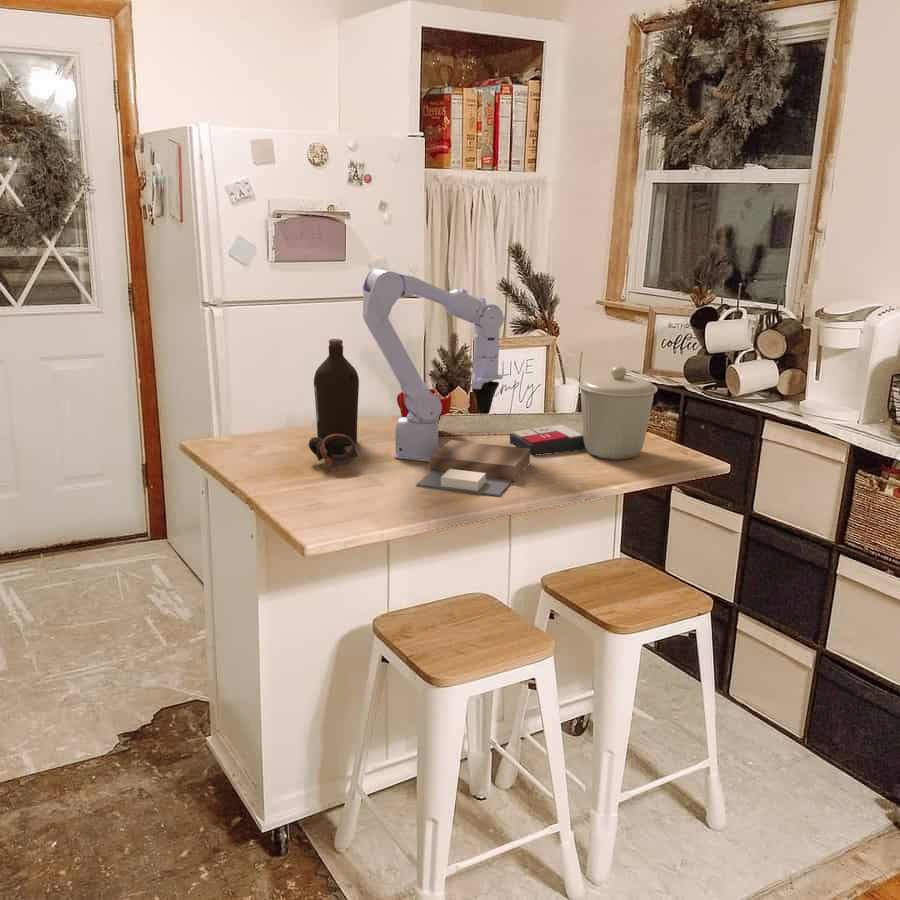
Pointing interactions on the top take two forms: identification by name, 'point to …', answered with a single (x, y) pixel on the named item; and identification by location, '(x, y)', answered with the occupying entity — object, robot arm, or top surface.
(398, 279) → the robot arm
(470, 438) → the top surface
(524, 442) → the calculator
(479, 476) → the tile
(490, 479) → the mat
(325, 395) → the olive oil
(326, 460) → the pottery mug
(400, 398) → the ceramic cup
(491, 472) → the block
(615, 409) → the canister
